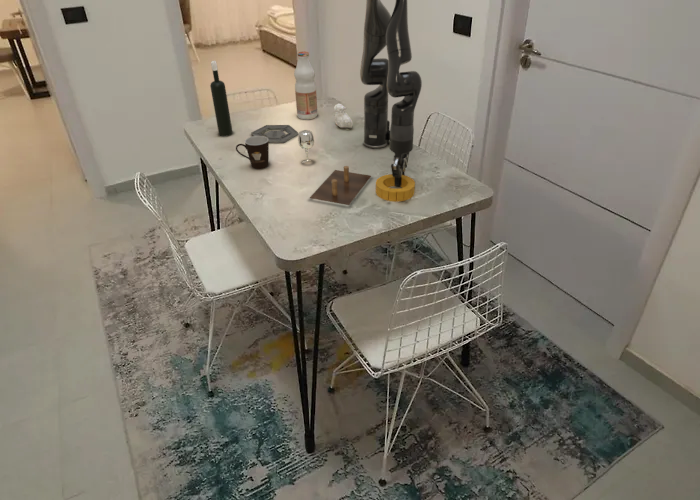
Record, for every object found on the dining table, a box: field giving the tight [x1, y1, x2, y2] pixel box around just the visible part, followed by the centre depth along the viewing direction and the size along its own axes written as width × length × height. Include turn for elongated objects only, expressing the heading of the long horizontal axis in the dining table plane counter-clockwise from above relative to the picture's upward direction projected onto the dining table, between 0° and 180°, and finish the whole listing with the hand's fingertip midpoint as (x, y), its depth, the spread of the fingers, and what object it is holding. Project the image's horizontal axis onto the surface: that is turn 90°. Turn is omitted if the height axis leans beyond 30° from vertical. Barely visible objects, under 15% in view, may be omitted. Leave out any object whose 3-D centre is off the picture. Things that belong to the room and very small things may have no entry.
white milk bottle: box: [293, 51, 318, 120], centre depth 218 cm, size 9×9×28 cm
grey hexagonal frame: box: [250, 124, 299, 144], centre depth 208 cm, size 17×20×1 cm
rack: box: [309, 165, 372, 206], centre depth 167 cm, size 22×14×6 cm, turn 159°
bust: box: [333, 103, 354, 129], centre depth 212 cm, size 12×8×11 cm
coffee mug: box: [235, 135, 270, 170], centre depth 182 cm, size 12×9×10 cm
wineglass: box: [297, 129, 315, 164], centre depth 182 cm, size 6×6×12 cm
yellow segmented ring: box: [375, 173, 416, 203], centre depth 163 cm, size 13×13×4 cm
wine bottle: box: [209, 60, 234, 137], centre depth 202 cm, size 6×6×30 cm
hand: (399, 183), depth 168 cm, fingers closed on yellow segmented ring, 2 cm apart
